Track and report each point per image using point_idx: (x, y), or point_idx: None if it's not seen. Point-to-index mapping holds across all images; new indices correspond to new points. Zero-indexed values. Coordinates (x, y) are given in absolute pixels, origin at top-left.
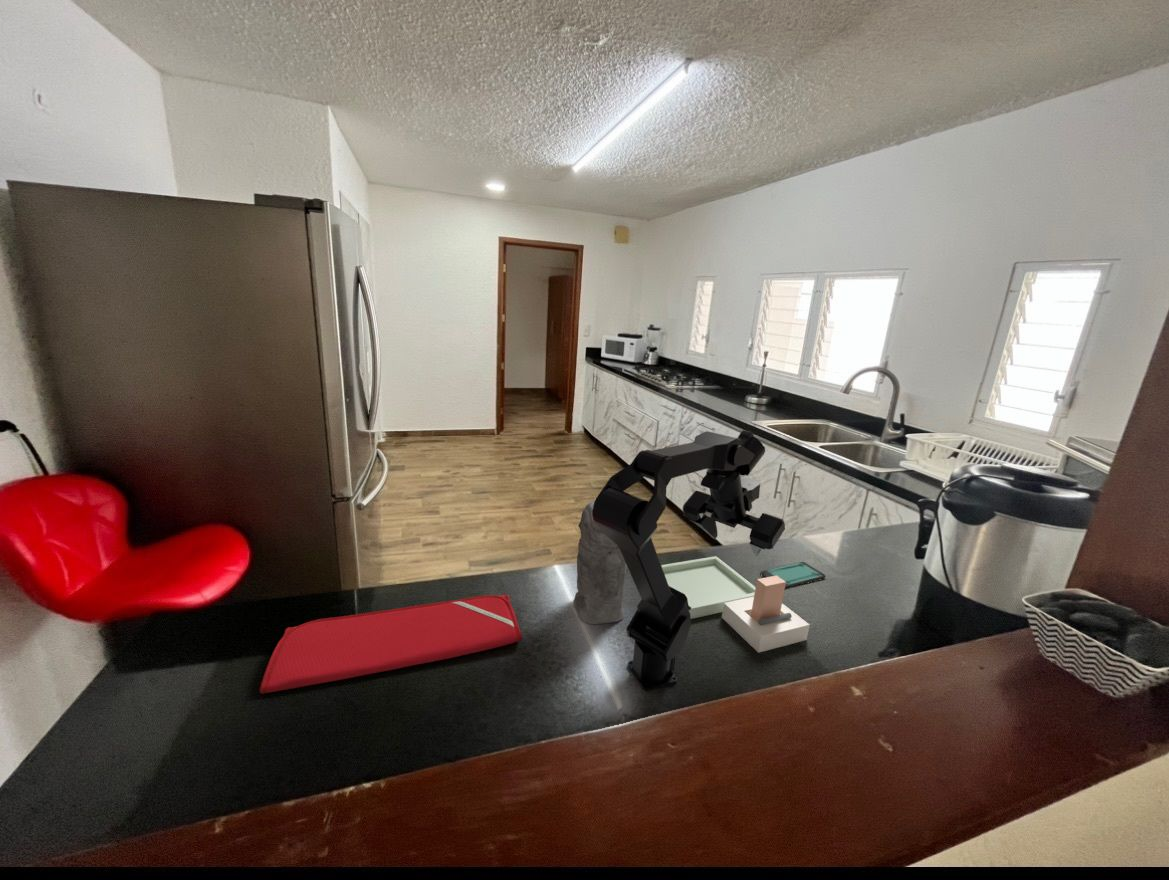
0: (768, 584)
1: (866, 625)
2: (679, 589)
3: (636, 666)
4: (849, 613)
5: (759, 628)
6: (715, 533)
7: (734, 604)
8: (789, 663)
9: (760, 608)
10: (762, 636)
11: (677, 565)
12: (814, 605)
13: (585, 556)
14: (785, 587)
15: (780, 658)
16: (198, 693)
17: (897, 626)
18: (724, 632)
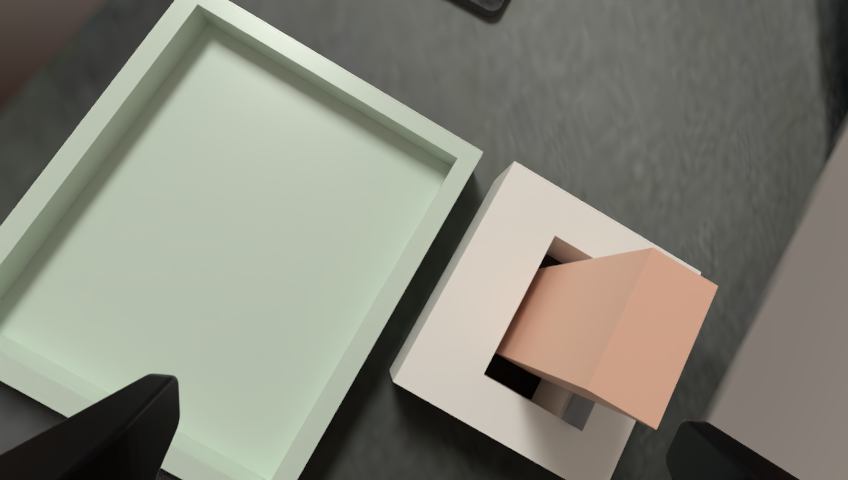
0: (660, 399)
1: (761, 59)
2: (163, 343)
3: None
4: (708, 23)
5: (576, 450)
6: (136, 460)
7: (434, 358)
8: (657, 443)
9: (570, 390)
10: None
11: (59, 191)
12: (613, 50)
13: None
14: (503, 1)
15: (629, 440)
16: None
17: (823, 3)
18: (434, 452)
